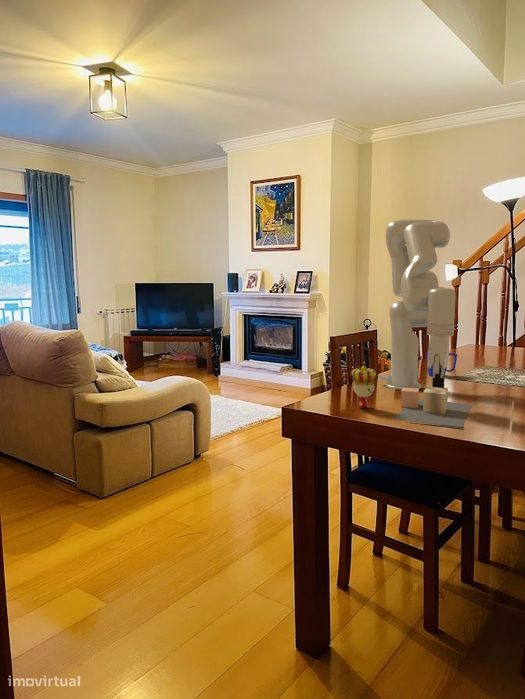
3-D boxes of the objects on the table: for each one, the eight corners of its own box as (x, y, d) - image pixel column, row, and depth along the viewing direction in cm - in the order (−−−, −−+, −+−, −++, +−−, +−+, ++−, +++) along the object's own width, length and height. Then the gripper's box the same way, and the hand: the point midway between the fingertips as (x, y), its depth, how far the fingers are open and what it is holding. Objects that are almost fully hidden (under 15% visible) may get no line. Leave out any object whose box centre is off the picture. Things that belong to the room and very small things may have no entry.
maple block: (426, 405, 155) (422, 411, 149) (426, 386, 153) (423, 392, 148) (447, 407, 152) (444, 413, 147) (447, 388, 151) (444, 394, 145)
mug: (459, 377, 205) (460, 352, 204) (429, 377, 206) (430, 353, 204) (452, 373, 213) (453, 350, 212) (423, 374, 214) (424, 350, 212)
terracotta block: (400, 406, 155) (401, 390, 155) (401, 403, 160) (401, 387, 159) (418, 408, 154) (418, 391, 153) (418, 404, 159) (418, 388, 158)
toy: (370, 414, 150) (371, 363, 148) (347, 411, 153) (348, 361, 151) (378, 408, 156) (379, 360, 154) (356, 406, 159) (357, 358, 157)
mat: (392, 421, 142) (393, 419, 141) (412, 400, 166) (412, 398, 166) (462, 429, 133) (462, 427, 133) (471, 406, 158) (472, 404, 158)
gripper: (431, 327, 159) (429, 385, 162) (423, 332, 146) (420, 394, 149) (456, 328, 156) (454, 387, 158) (450, 333, 143) (448, 397, 145)
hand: (438, 390), depth 153 cm, fingers closed
